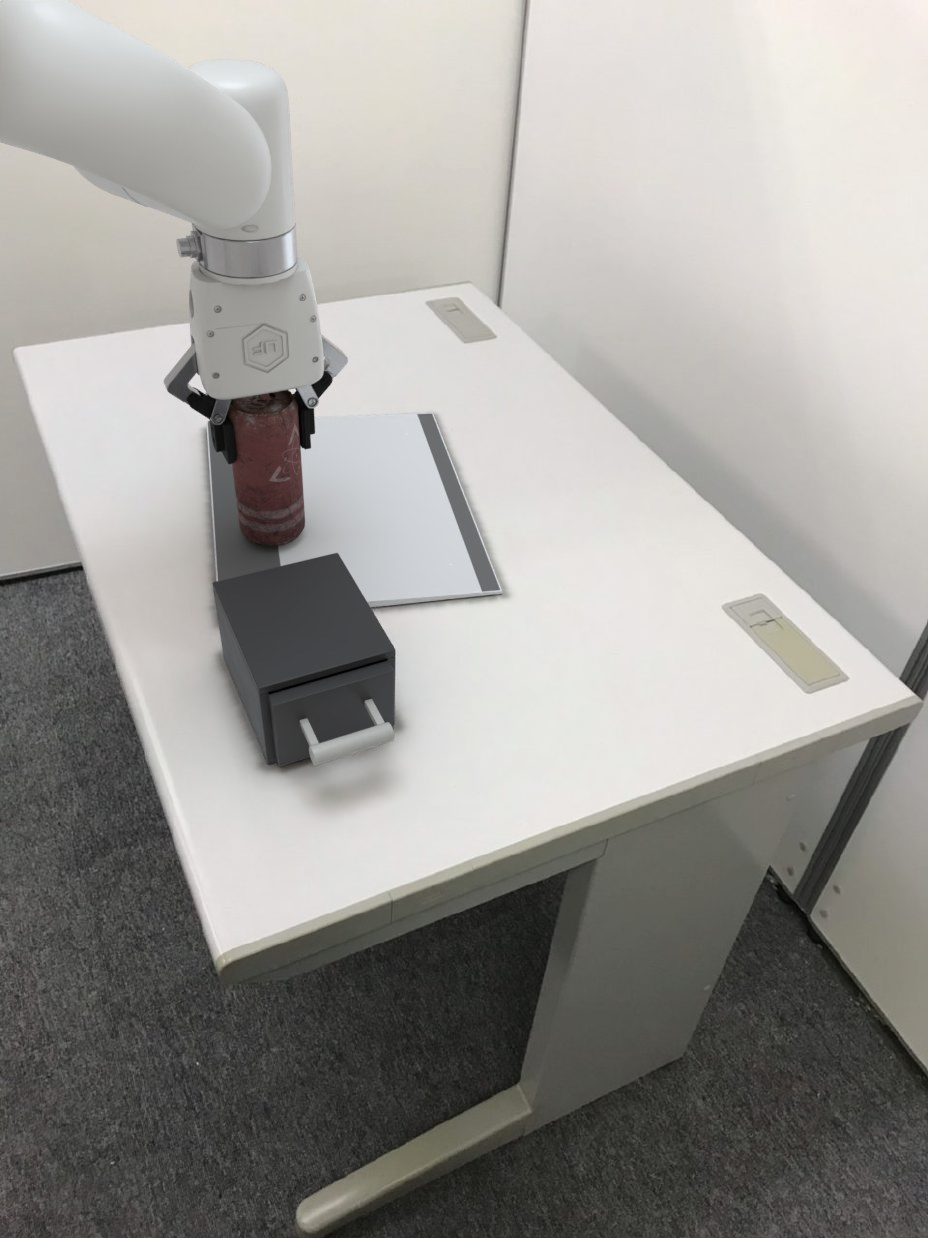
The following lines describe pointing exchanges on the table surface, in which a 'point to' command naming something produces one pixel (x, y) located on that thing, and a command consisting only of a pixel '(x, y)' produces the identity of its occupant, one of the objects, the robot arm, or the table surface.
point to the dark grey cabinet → (294, 632)
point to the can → (268, 467)
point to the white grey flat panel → (370, 512)
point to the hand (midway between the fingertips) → (265, 446)
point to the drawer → (333, 714)
